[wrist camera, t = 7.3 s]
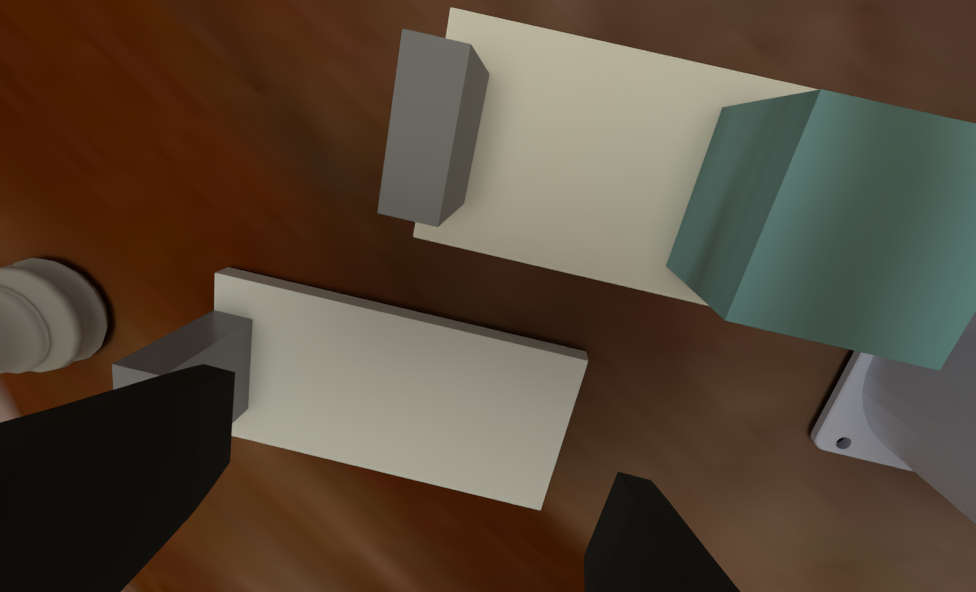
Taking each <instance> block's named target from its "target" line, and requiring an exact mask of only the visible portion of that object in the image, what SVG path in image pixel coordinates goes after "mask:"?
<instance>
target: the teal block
mask: <svg viewBox="0 0 976 592" xmlns="http://www.w3.org/2000/svg"><path fill="white" fill-rule="evenodd" d="M666 266H667V267H668V268H669V269H670V270H671V271H672V272H673V273H674V274H675V275H676V276H677V277H679V278H680V279H681V280H682V281H683V282H684V283H685V284H686V285H687V286H688V287H689V288H690V289H691V290H693V291H694V292H695V293H696V294H697V295H698V296H699V297H700V298H701V299H702V300H703V301H704V302H705V303H707V304H708V305H709V306H710V307H711V308H712V309H713V310H714V311H715V312H716V313H717V314H718V315H719V316H721V317H722V318H723V319H724V320H725V321H729V322H733V323H738V324H742V325H746V326H751V327H755V328H759V329H763V330H768V331H772V332H776V333H781V334H785V335H789V336H793V337H798V338H802V339H806V340H811V341H815V342H819V343H823V344H828V345H832V346H836V347H841V348H845V349H849V350H853V351H858V352H862V353H866V354H871V355H875V356H879V357H883V358H888V359H892V360H896V361H901V362H905V363H909V364H913V365H918V366H922V367H926V368H931V369H935V370H939V371H940V369H941V368H942V366H943V364H944V363H945V361H946V359H947V358H948V356H949V354H950V353H951V351H952V349H953V348H954V346H955V344H956V343H957V341H958V340H959V338H960V336H961V335H962V333H963V331H964V330H965V328H966V326H967V325H968V323H969V321H970V320H971V318H972V316H973V315H974V313H975V312H976V124H975V123H970V122H966V121H961V120H957V119H952V118H948V117H943V116H939V115H934V114H930V113H925V112H921V111H916V110H912V109H908V108H903V107H899V106H894V105H890V104H885V103H881V102H876V101H872V100H867V99H863V98H858V97H854V96H849V95H845V94H840V93H836V92H831V91H827V90H823V89H819V90H814V91H809V92H803V93H798V94H792V95H787V96H781V97H776V98H770V99H765V100H759V101H754V102H748V103H743V104H738V105H732V106H727V107H722V110H721V112H720V115H719V118H718V121H717V124H716V127H715V129H714V132H713V135H712V138H711V141H710V143H709V146H708V149H707V152H706V155H705V157H704V160H703V163H702V166H701V169H700V172H699V174H698V177H697V180H696V183H695V186H694V188H693V191H692V194H691V197H690V200H689V202H688V205H687V208H686V211H685V214H684V217H683V219H682V222H681V225H680V228H679V231H678V233H677V236H676V239H675V242H674V245H673V247H672V250H671V253H670V256H669V259H668V262H667V264H666Z"/></svg>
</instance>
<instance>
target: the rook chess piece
mask: <svg viewBox="0 0 976 592" xmlns="http://www.w3.org/2000/svg"><path fill="white" fill-rule="evenodd" d="M108 324H109V321H108V314H107V307H106V305H105V303H104V301H103V299H102V297H101V295H100V293H99V292H98V290H97V288H96V287H95V286H94V285H93V284H92V283H90V282H89V281H88V280H87V279H86V278H85V277H84V276H83V275H82V274H80V273H78V272H76V271H75V270H73V269H71V268H69V267H67V266H65V265H63V264H60V263H58V262H55V261H50V260H44V259H37V258H30V259H26V260H23V261H20V262H16V263H14V264H13V265H12V266H11V265H8V266H5V267H1V268H0V373H4V372H11V373H17V374H18V373H22V372H26V371H35V372H45V371H50V370H54V369H58V368H62V367H67V366H69V365H70V364H71V363H72V362H74V361H78V360H83V359H87V358H90V357H91V356H92V355H93V354H94V353H95V352H96V351H97V350H98V349H99V348H100V347H101V346H102V343H103V340H104V337H105V334H106V331H107V327H108Z"/></svg>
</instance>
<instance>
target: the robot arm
mask: <svg viewBox="0 0 976 592" xmlns="http://www.w3.org/2000/svg"><path fill="white" fill-rule="evenodd" d="M234 386H235V372H233V371H229V370H225V369H221V368H217V367H213V366H210V365H206V364H201V365H197V366H192V367H188V368H184V369H181V370H177V371H174V372H170V373H167V374H163V375H160V376H157V377H153V378H150V379H147V380H143V381H140V382H137V383H134V384H130V385H127V386H124V387H121V388H117V389H114V390H111V391H108V392H104V393H101V394H98V395H94V396H91V397H88V398H85V399H81V400H78V401H75V402H71V403H68V404H65V405H62V406H58V407H55V408H51V409H48V410H44V411H41V412H37V413H33V414H30V415H26V416H23V417H19V418H15V419H12V420H8V421H5V422H1V423H0V592H121V591H122V590H123V588H124V587H125V586H126V585H127V584H128V583H129V582H130V581H131V580H132V579H133V578H134V577H135V576H136V574H137V573H138V572H139V571H140V570H141V569H142V568H143V567H144V566H145V565H146V564H147V563H148V562H149V560H150V559H151V558H152V557H153V556H154V555H155V554H156V553H157V552H158V551H159V550H160V549H161V547H162V546H163V545H164V544H165V543H166V542H167V541H168V540H169V539H170V538H171V537H172V535H173V534H174V533H175V532H176V531H177V530H178V529H179V528H180V527H181V526H182V524H183V523H184V522H185V521H186V520H187V519H188V518H189V517H190V516H191V514H192V513H193V512H194V511H195V509H196V508H197V507H198V506H199V504H200V503H201V502H202V500H203V499H204V498H205V496H206V495H207V494H208V492H209V491H210V490H211V488H212V487H213V485H214V484H215V483H216V481H217V480H218V478H219V477H220V475H221V474H222V473H223V471H224V470H225V468H226V467H227V466H228V464H229V463H230V452H231V435H232V419H233V403H234ZM842 437H844V439H843V440H842V441H841V442H838V443H836V442H837V441H838V440H839V439H840V438H842ZM811 440H812V441H813V442H814V443H815V445H816V446H817V447H818V448H820V449H822V450H825V451H829V452H833V453H837V454H841V455H846V456H850V457H854V458H858V459H862V460H867V461H871V462H875V463H879V464H883V465H888V466H892V467H896V468H900V469H905V470H909V471H913V472H916V473H917V474H918V475H919V476H920V477H921V478H923V479H924V480H925V481H926V482H927V483H928V484H929V485H931V486H932V487H933V488H934V489H935V490H936V491H938V492H939V493H940V494H941V495H942V496H943V497H945V498H946V499H947V500H948V501H949V502H950V503H951V504H953V505H954V506H955V507H956V508H957V509H958V510H960V511H961V512H962V513H963V514H964V515H965V516H967V517H968V518H969V519H970V520H971V521H972V522H973V523H975V524H976V312H975V313H974V315H973V316H972V318H971V320H970V321H969V323H968V325H967V326H966V328H965V330H964V331H963V333H962V335H961V336H960V338H959V340H958V341H957V343H956V344H955V346H954V348H953V349H952V351H951V353H950V354H949V356H948V358H947V359H946V361H945V363H944V364H943V366H942V368H941V369H940V371H939V370H935V369H931V368H926V367H922V366H918V365H913V364H909V363H905V362H901V361H896V360H892V359H888V358H883V357H879V356H875V355H871V354H866V353H862V352H858V351H854V352H853V354H852V356H851V358H850V360H849V362H848V364H847V366H846V368H845V370H844V371H843V373H842V375H841V377H840V379H839V381H838V383H837V385H836V387H835V388H834V390H833V392H832V394H831V396H830V398H829V400H828V402H827V404H826V405H825V407H824V409H823V411H822V413H821V415H820V417H819V419H818V421H817V422H816V424H815V426H814V428H813V430H812V432H811ZM584 577H585V592H740V591H739V589H738V588H737V587H736V586H735V585H734V583H733V582H732V581H731V580H730V578H729V577H728V576H727V575H726V573H725V572H724V571H723V570H722V568H721V567H720V566H719V565H718V564H717V562H716V561H715V560H714V558H713V557H712V556H711V555H710V553H709V552H708V551H707V550H706V548H705V547H704V546H703V545H702V543H701V542H700V541H699V539H698V538H697V537H696V536H695V534H694V533H693V532H692V530H691V529H690V528H689V527H688V525H687V524H686V523H685V522H684V520H683V519H682V518H681V516H680V515H679V514H678V513H677V511H676V510H675V509H674V508H673V506H672V505H671V504H670V502H669V501H668V500H667V499H666V497H665V496H664V495H663V494H662V493H661V491H660V490H659V489H658V488H657V487H656V485H655V484H654V483H653V482H652V481H651V480H648V479H644V478H640V477H636V476H632V475H629V474H625V473H621V472H618V473H617V476H616V478H615V481H614V483H613V486H612V488H611V491H610V493H609V496H608V498H607V501H606V503H605V505H604V508H603V510H602V513H601V515H600V518H599V520H598V523H597V525H596V528H595V530H594V533H593V535H592V538H591V540H590V542H589V545H588V547H587V550H586V552H585V555H584Z"/></svg>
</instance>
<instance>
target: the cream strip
mask: <svg viewBox="0 0 976 592" xmlns="http://www.w3.org/2000/svg"><path fill="white" fill-rule="evenodd" d="M814 90H818V89H814V88H809V87H805V86H800V85H796V84H791V83H787V82H782V81H778V80H773V79H769V78H764V77H760V76H756V75H751V74H747V73H742V72H738V71H733V70H729V69H724V68H720V67H715V66H711V65H706V64H702V63H697V62H693V61H688V60H684V59H680V58H675V57H671V56H666V55H662V54H657V53H653V52H648V51H644V50H639V49H635V48H630V47H626V46H621V45H617V44H612V43H608V42H603V41H599V40H595V39H590V38H586V37H581V36H577V35H572V34H568V33H563V32H559V31H554V30H550V29H545V28H541V27H536V26H532V25H527V24H523V23H518V22H514V21H510V20H505V19H501V18H496V17H492V16H487V15H483V14H478V13H474V12H469V11H465V10H460V9H456V8H450V14H449V20H448V27H447V33H446V38H442V37H437V36H433V35H428V34H424V33H420V32H415V31H411V30H406V29H402V35H401V42H400V49H399V57H398V64H397V72H396V79H395V86H394V94H393V101H392V109H391V116H390V123H389V131H388V138H387V146H386V153H385V160H384V168H383V175H382V182H381V190H380V197H379V205H378V212H377V213H379V214H383V215H388V216H392V217H396V218H400V219H405V220H409V221H413V222H415V228H414V234H413V237H415V238H419V239H424V240H428V241H432V242H437V243H441V244H445V245H449V246H454V247H458V248H462V249H467V250H471V251H475V252H480V253H484V254H488V255H492V256H497V257H501V258H505V259H510V260H514V261H518V262H522V263H527V264H531V265H535V266H540V267H544V268H548V269H552V270H557V271H561V272H565V273H570V274H574V275H578V276H583V277H587V278H591V279H595V280H600V281H604V282H608V283H613V284H617V285H621V286H625V287H630V288H634V289H638V290H643V291H647V292H651V293H656V294H660V295H664V296H668V297H673V298H677V299H681V300H686V301H690V302H694V303H698V304H703V305H707V306H709V305H708V304H707V303H705V302H704V301H703V300H702V299H701V298H700V297H699V296H698V295H697V294H696V293H695V292H694V291H693V290H691V289H690V288H689V287H688V286H687V285H686V284H685V283H684V282H683V281H682V280H681V279H680V278H679V277H677V276H676V275H675V274H674V273H673V272H672V271H671V270H670V269H669V268H668V267H667V266H666V264H667V262H668V259H669V256H670V253H671V250H672V247H673V245H674V242H675V239H676V236H677V233H678V231H679V228H680V225H681V222H682V219H683V217H684V214H685V211H686V208H687V205H688V202H689V200H690V197H691V194H692V191H693V188H694V186H695V183H696V180H697V177H698V174H699V172H700V169H701V166H702V163H703V160H704V157H705V155H706V152H707V149H708V146H709V143H710V141H711V138H712V135H713V132H714V129H715V127H716V124H717V121H718V118H719V115H720V112H721V110H722V107H727V106H732V105H738V104H743V103H748V102H754V101H759V100H765V99H770V98H776V97H781V96H787V95H792V94H798V93H803V92H809V91H814Z"/></svg>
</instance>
